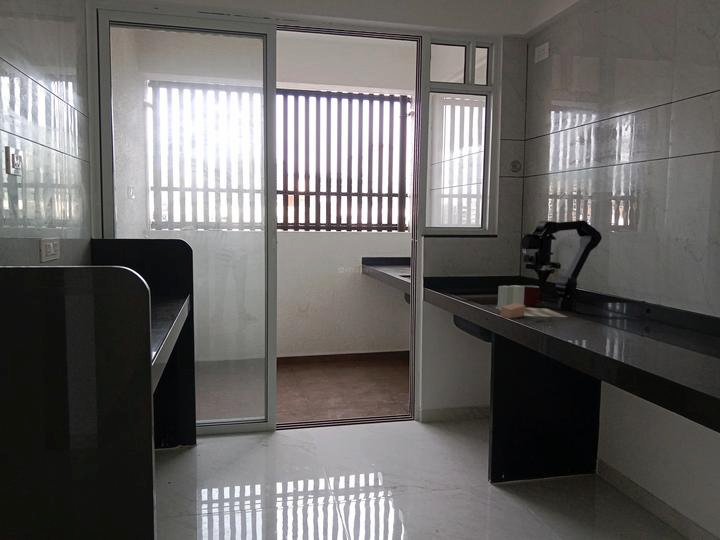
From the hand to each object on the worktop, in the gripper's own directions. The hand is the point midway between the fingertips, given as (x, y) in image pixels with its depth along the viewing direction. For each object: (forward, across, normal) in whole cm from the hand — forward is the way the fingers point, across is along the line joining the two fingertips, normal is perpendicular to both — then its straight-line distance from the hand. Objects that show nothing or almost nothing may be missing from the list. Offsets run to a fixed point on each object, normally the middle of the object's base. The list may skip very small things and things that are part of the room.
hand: (541, 285), depth 247 cm
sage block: (+11, +13, -9) cm, 19 cm away
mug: (+12, -8, -10) cm, 18 cm away
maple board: (+12, +9, +1) cm, 15 cm away
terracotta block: (+9, +22, +5) cm, 24 cm away
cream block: (+11, +6, -8) cm, 15 cm away
